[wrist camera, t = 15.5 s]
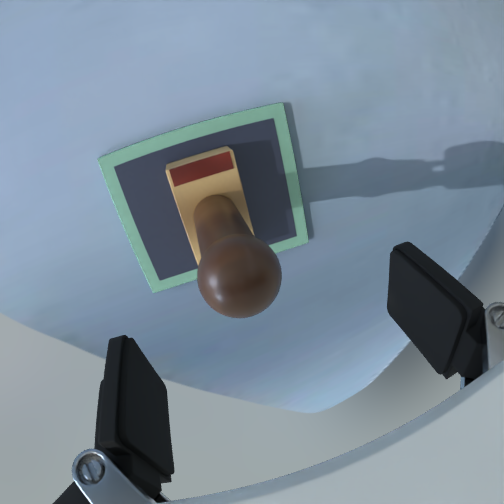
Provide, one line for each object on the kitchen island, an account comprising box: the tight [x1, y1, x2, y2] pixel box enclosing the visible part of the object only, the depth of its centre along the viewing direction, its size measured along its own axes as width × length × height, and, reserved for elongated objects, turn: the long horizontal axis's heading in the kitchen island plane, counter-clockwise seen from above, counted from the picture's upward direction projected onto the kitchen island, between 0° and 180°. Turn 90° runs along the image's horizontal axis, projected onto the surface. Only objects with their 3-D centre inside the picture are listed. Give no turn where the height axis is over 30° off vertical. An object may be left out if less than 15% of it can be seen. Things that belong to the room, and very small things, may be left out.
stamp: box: [166, 145, 282, 318], centre depth 18 cm, size 8×4×12 cm, turn 13°
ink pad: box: [98, 103, 309, 293], centre depth 23 cm, size 14×12×1 cm
